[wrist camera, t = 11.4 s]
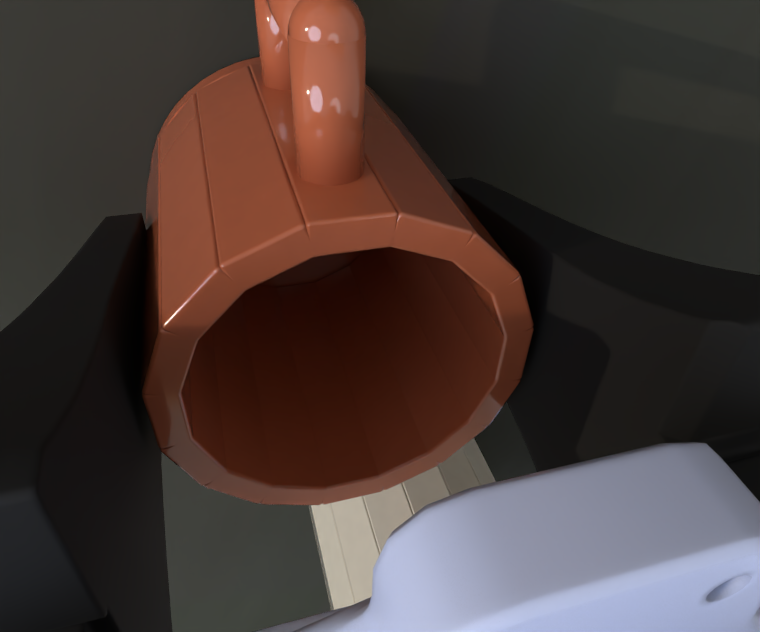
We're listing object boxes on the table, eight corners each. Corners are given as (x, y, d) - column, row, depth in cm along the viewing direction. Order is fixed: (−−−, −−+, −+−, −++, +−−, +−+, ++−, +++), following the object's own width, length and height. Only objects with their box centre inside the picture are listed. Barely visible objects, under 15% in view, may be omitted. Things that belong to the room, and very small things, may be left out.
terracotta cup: (399, 272, 16) (501, 466, 11) (177, 304, 15) (186, 537, 10) (421, -78, 11) (617, 7, 6) (87, -76, 10) (21, 32, 5)
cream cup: (295, 404, 18) (347, 632, 13) (471, 371, 19) (581, 567, 14) (308, 545, 23) (349, 748, 18) (447, 511, 24) (522, 692, 19)
